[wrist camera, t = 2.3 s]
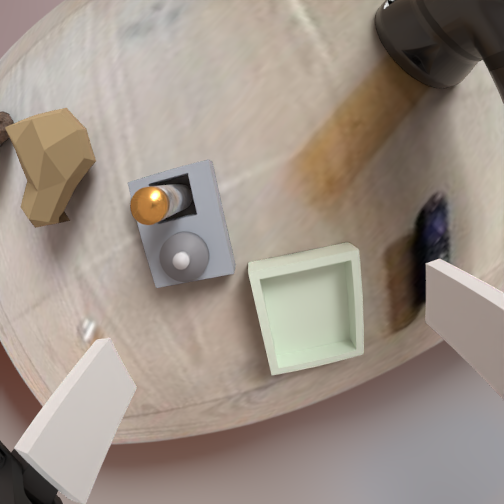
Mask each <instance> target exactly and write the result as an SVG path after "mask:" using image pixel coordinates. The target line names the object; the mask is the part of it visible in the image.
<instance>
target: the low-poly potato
mask: <svg viewBox="0 0 504 504" xmlns="http://www.w3.org/2000/svg"><path fill="white" fill-rule="evenodd" d="M5 129H6V131H7V133H8V135H9V138H10V140H11V142H12V144H13V146H14V148H15V150H16V153H17V156H18V158H19V161H20V164H21V166H22V169H23V171H24V174H25V176H26V178H27V184H26V188H25V192H24V196H23V200H22V204H21V208H22V210H23V211H24V213H25V214H26V216H27V217H28V219H29V220H30V221H31V223H32V224H33V225H34V226H35V228H36V227H41V226H46V225H51V224H56V223H61V222H66V221H70V219H69V218H68V216H67V215H66V214H65V212H64V210H65V208H66V206H67V204H68V202H69V200H70V198H71V196H72V194H73V192H74V190H75V188H76V186H77V185H78V183H79V182H80V181H81V179H82V178H83V177H84V175H85V174H86V173H87V172H88V170H89V169H90V168H91V166H92V165H93V164H94V163H95V161H96V160H95V156H94V153H93V150H92V147H91V144H90V140H89V137H88V133H87V130H86V128H85V127H84V126H83V125H82V124H81V123H80V122H79V121H78V120H77V119H76V118H75V117H74V116H73V114H72V113H71V112H70V111H69V110H68V109H67V108H63V109H59V110H54V111H50V112H45V113H41V114H37V115H34V116H32V117H29V118H26V119H24V120H21V121H19V122H16V123H14V124H12V125H9V126H7V127H5Z"/></svg>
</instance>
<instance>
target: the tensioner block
mask: <svg viewBox="0 0 504 504" xmlns="http://www.w3.org/2000/svg"><path fill="white" fill-rule="evenodd" d="M186 175H188V176H189V181H190V185H191V190H192V194H193V198H194V203H195V207H196V211H197V213H194V214H190V215H186V216H181V217H177V218H173V219H169V220H166V218H165V219H163V220H161V221H159V222H157V223H155V224H153V225H143V224H141V223H139V222H138V221H137V224H138V228H139V232H140V235H141V239H142V243H143V246H144V250H145V253H146V257H147V260H148V264H149V267H150V270H151V273H152V277H153V280H154V283H155V286H156V288H159V287H165V286H170V285H176V284H181V283H187V282H192V281H197V280H203V279H208V278H213V277H218V276H224V275H229V274H234V271H235V266H236V264H235V260H234V256H233V252H232V247H231V243H230V239H229V234H228V230H227V226H226V221H225V217H224V212H223V208H222V203H221V199H220V194H219V190H218V185H217V181H216V176H215V171H214V167H213V162H212V161H210V160H205V161H201V162H197V163H193V164H189V165H185V166H182V167H178V168H174V169H171V170H167V171H164V172H160V173H157V174H154V175H150V176H147V177H144V178H141V179H137V180H134V181H131V182H128V186H129V191H130V195H131V199H132V197H133V195H134V194H135V193H136V192H137V191H138V190H139V189H141V188H144V187H151V186H158V184H157V183H160V182H163V181H167V180H171V179H174V178H178V177H182V176H186Z"/></svg>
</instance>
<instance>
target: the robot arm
mask: <svg viewBox="0 0 504 504" xmlns="http://www.w3.org/2000/svg"><path fill="white" fill-rule="evenodd" d="M375 23H376V29H377V32H378V35H379V37H380V40H381V42H382V43H383V45H384V47H385V48H386V50H387V51H388V53H389V54H390V55H391V57H392V58H393V59H394V60H395V61H396V63H397V64H398V65H399V66H400V67H401V68H402V69H404V70H405V71H406V72H407V73H408V74H410V75H411V76H412V77H414V78H415V79H417V80H418V81H420V82H422V83H424V84H426V85H429V86H431V87H435V88H447V87H450V86H453V85H456V84H458V83H460V82H461V81H463V80H464V78H465V77H466V76H467V75H468V74H469V73H470V71H471V70H472V69H473V68H474V67H475V65H476V64H477V63H478V62H479V61H481V60H484V62H485V64H486V66H487V68H488V70H489V72H490V74H491V76H492V78H493V81H494V83H495V85H496V87H497V89H498V91H499V94H500V96H501V98H502V101H503V103H504V0H386V1H385V2H384V3H383V4H382V5H381V6H380V8H379V9H378V10H377V13H376V17H375ZM425 322H426V323H427V324H428V325H429V326H430V327H431V328H432V329H433V330H434V331H435V332H436V333H438V334H439V335H440V336H441V337H442V338H443V339H444V340H445V341H446V342H447V343H448V344H449V345H450V346H451V347H452V348H453V349H454V350H455V351H457V353H458V354H459V355H461V356H462V357H463V358H464V359H465V360H466V361H467V362H468V363H469V364H470V365H471V366H472V367H473V368H474V369H475V370H476V371H477V373H478V374H479V375H480V376H482V378H483V379H484V380H485V381H486V382H487V383H488V384H489V385H490V386H491V387H492V388H493V389H494V390H495V391H496V392H497V393H498V394H499V395H500V397H501V398H502V399H503V400H504V293H503V292H501V291H500V290H498V289H496V288H494V287H493V286H491V285H489V284H487V283H485V282H484V281H482V280H480V279H478V278H476V277H474V276H472V275H471V274H469V273H467V272H465V271H463V270H461V269H459V268H457V267H455V266H453V265H451V264H449V263H447V262H445V261H443V260H441V259H437V260H434V261H431V262H429V263H426V313H425ZM136 388H137V387H136V385H135V383H134V382H133V380H132V378H131V377H130V375H129V373H128V371H127V369H126V368H125V366H124V364H123V362H122V360H121V358H120V356H119V355H118V353H117V351H116V349H115V347H114V345H113V343H112V341H111V339H110V338H105V339H97V340H96V341H95V342H94V343H93V345H92V346H91V347H90V348H89V349H88V351H87V352H86V353H85V354H84V355H83V357H82V358H81V359H80V360H79V361H78V363H77V364H76V365H75V366H74V368H73V369H72V370H71V371H70V373H69V374H68V375H67V376H66V378H65V379H64V380H63V382H62V383H61V384H60V385H59V387H58V388H57V389H56V391H55V392H54V393H53V394H52V396H51V397H50V398H49V400H48V401H47V402H46V404H45V405H44V406H43V408H42V409H41V410H40V412H39V413H38V415H37V416H36V417H35V419H34V420H33V421H32V423H31V424H30V426H29V427H28V429H27V430H26V431H25V433H24V434H23V436H22V437H21V439H20V440H19V441H18V443H17V444H16V446H15V447H14V450H13V451H12V452H10V451H9V450H8V449H7V448H6V447H5V446H4V445H3V443H2V442H1V441H0V504H63V503H62V501H61V499H60V498H59V497H58V496H57V495H56V494H57V492H58V491H60V492H61V493H62V494H63V495H64V496H66V497H67V498H68V499H70V500H72V501H75V502H78V503H81V504H86V502H87V500H88V497H89V495H90V492H91V489H92V487H93V485H94V482H95V480H96V477H97V475H98V473H99V470H100V468H101V465H102V463H103V461H104V458H105V456H106V454H107V452H108V449H109V447H110V445H111V442H112V440H113V438H114V436H115V433H116V431H117V429H118V427H119V425H120V422H121V420H122V418H123V416H124V414H125V412H126V409H127V407H128V405H129V403H130V401H131V399H132V397H133V395H134V393H135V390H136Z"/></svg>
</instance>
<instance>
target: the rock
mask: <svg viewBox="0 0 504 504" xmlns="http://www.w3.org/2000/svg"><path fill="white" fill-rule="evenodd" d="M12 124H13V120H12V119H11V117H10V114H8V113H5V112H0V146H1V144H2V143H3V142H4V141H6V140H7V139H8V138H9V135H8V133H7V131H6V129H5V127H7V126H9V125H12Z"/></svg>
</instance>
